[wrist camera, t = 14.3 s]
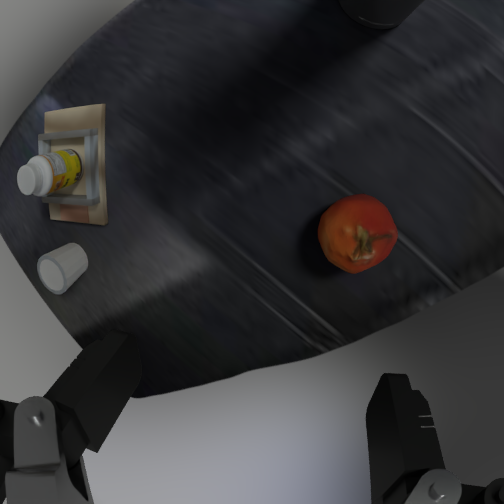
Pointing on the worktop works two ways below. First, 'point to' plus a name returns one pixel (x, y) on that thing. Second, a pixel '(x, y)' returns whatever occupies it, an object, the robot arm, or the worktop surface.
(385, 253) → the tomato
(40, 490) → the robot arm
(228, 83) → the worktop surface
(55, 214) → the holder
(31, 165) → the supplement bottle
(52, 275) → the shot glass
